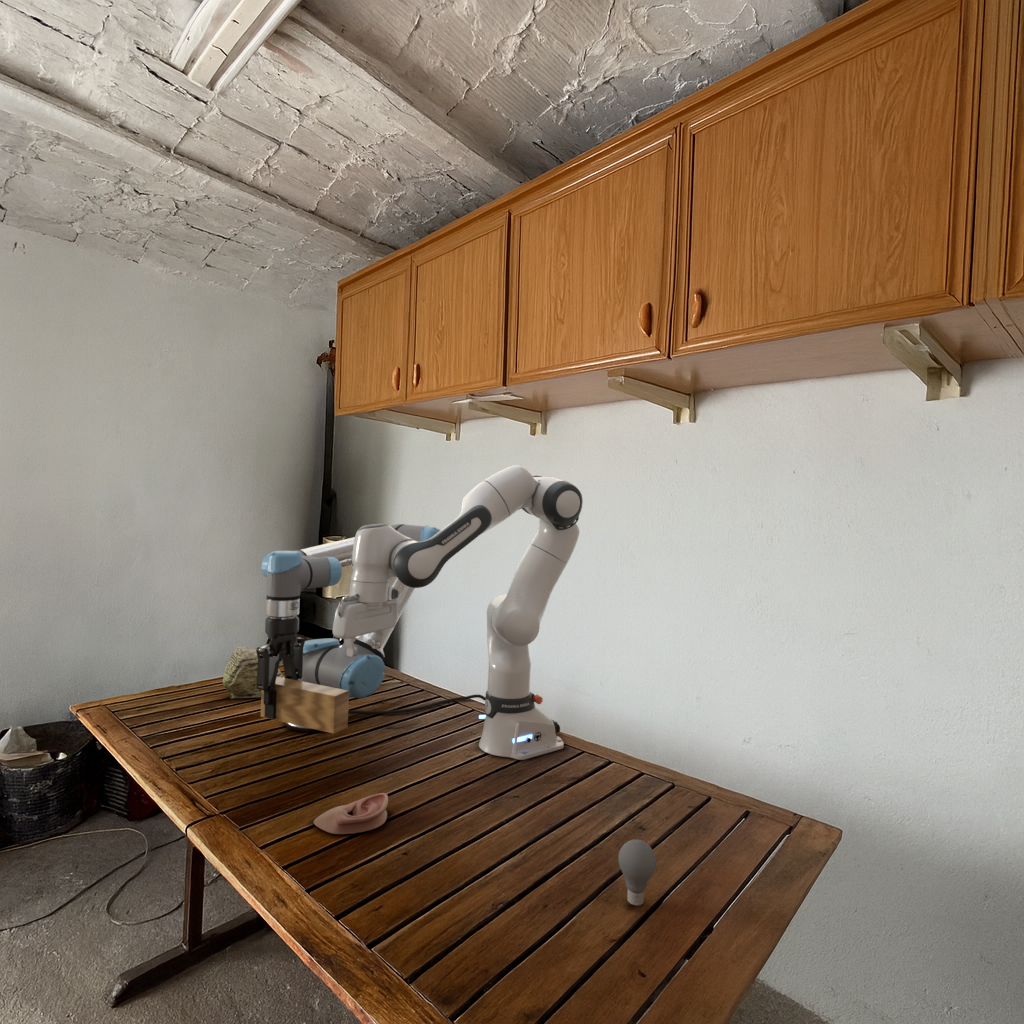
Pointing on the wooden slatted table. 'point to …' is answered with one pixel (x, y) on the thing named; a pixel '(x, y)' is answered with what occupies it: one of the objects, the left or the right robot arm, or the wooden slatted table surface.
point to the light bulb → (636, 868)
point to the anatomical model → (355, 816)
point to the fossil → (243, 674)
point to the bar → (310, 705)
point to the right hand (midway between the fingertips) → (364, 651)
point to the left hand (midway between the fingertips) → (279, 713)
